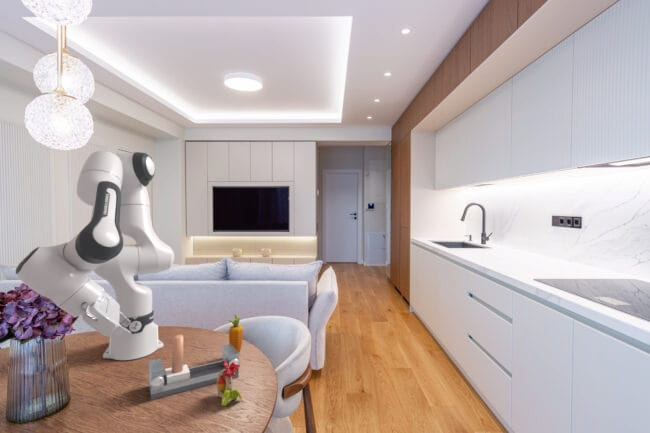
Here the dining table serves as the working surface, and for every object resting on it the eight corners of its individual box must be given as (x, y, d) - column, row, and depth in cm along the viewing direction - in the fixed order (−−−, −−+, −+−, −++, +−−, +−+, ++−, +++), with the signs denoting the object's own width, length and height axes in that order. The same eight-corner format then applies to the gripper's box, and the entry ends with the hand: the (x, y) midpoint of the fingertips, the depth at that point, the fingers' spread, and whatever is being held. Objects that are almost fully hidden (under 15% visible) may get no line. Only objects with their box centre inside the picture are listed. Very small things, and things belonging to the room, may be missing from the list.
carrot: (238, 362, 108) (239, 318, 108) (225, 360, 109) (226, 317, 109) (245, 355, 113) (246, 314, 113) (232, 354, 114) (233, 313, 114)
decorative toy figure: (210, 409, 86) (226, 409, 80) (203, 366, 89) (218, 363, 83) (230, 399, 90) (247, 399, 85) (223, 359, 93) (239, 356, 88)
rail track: (148, 386, 93) (149, 360, 92) (231, 366, 106) (231, 343, 105) (150, 401, 85) (151, 373, 85) (239, 377, 98) (239, 353, 98)
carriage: (164, 378, 94) (165, 335, 94) (186, 373, 97) (187, 331, 97) (167, 387, 89) (167, 342, 89) (189, 381, 92) (190, 338, 92)
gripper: (92, 299, 73) (140, 333, 79) (98, 281, 90) (137, 310, 96) (67, 321, 71) (118, 354, 76) (78, 299, 88) (119, 327, 93)
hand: (129, 330), depth 86 cm, fingers open, 8 cm apart
